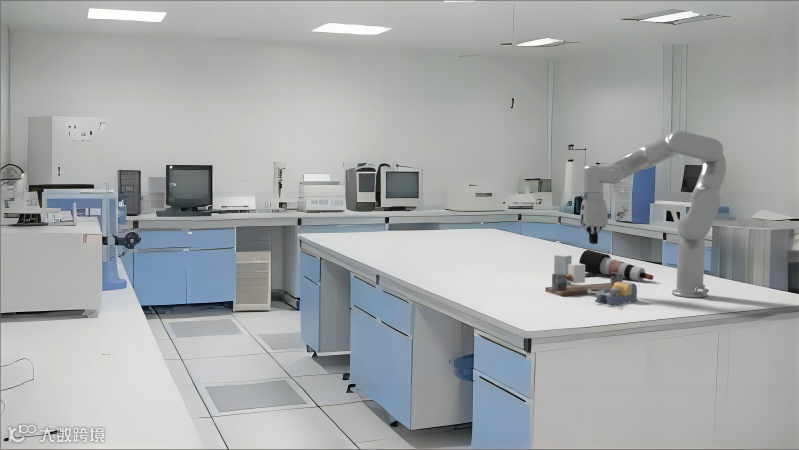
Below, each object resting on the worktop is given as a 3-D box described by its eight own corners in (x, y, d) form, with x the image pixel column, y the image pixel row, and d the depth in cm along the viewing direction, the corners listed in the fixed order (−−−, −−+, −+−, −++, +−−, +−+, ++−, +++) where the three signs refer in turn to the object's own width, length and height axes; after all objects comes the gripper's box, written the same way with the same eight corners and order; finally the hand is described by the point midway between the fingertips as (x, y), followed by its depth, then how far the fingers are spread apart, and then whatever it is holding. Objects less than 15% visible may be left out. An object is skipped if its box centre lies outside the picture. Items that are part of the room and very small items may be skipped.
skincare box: (571, 284, 323) (572, 255, 321) (565, 285, 320) (565, 256, 319) (559, 282, 327) (560, 254, 326) (553, 283, 324) (553, 254, 323)
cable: (647, 293, 325) (643, 274, 321) (581, 275, 350) (577, 257, 346) (660, 280, 330) (656, 261, 326) (594, 263, 355) (590, 245, 351)
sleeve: (584, 282, 302) (585, 264, 302) (573, 283, 301) (574, 265, 300) (579, 280, 306) (579, 263, 305) (568, 281, 304) (568, 263, 304)
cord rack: (627, 291, 305) (628, 272, 304) (561, 296, 295) (562, 276, 294) (609, 286, 316) (609, 268, 316) (545, 291, 306) (545, 272, 305)
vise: (618, 297, 294) (618, 280, 293) (641, 301, 285) (641, 284, 285) (586, 302, 283) (586, 284, 282) (609, 307, 275) (609, 289, 274)
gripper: (582, 198, 297) (582, 245, 298) (615, 196, 302) (615, 243, 303) (571, 197, 304) (571, 243, 305) (603, 195, 309) (603, 241, 310)
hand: (593, 243), depth 304 cm, fingers closed
